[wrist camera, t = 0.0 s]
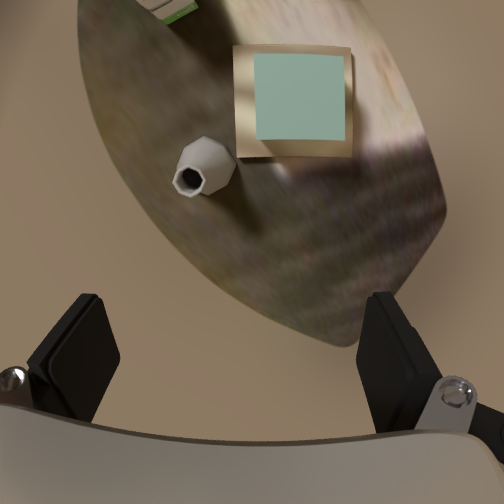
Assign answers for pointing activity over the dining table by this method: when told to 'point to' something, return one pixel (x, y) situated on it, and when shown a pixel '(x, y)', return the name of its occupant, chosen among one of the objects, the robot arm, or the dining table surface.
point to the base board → (247, 114)
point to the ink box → (169, 8)
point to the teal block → (299, 96)
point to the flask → (203, 168)
